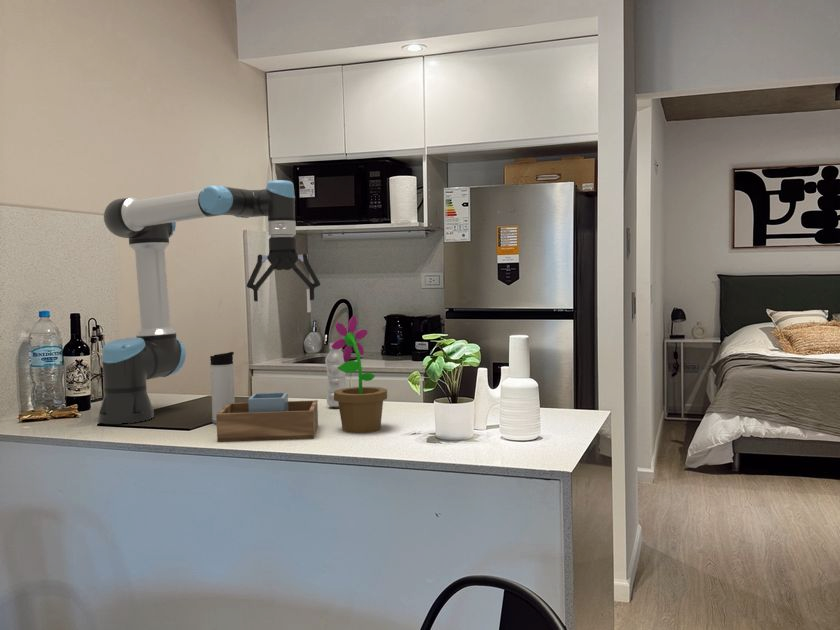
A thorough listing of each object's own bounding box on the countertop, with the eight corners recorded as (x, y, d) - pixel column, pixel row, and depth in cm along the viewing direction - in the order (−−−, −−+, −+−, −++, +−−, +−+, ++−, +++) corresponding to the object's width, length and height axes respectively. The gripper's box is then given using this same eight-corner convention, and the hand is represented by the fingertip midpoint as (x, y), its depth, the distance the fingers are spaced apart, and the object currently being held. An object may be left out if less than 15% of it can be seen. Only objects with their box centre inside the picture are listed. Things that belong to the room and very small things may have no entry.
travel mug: (230, 424, 215) (227, 353, 213) (208, 424, 216) (205, 353, 215) (240, 420, 221) (237, 350, 219) (218, 419, 222) (216, 350, 221)
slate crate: (255, 426, 206) (253, 393, 206) (288, 425, 207) (287, 392, 206) (249, 434, 197) (248, 399, 197) (284, 432, 198) (283, 398, 197)
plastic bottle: (347, 409, 235) (345, 343, 234) (325, 409, 235) (323, 344, 234) (349, 405, 241) (347, 341, 240) (328, 405, 241) (326, 342, 240)
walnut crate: (229, 428, 210) (228, 403, 209) (318, 425, 211) (317, 400, 210) (217, 441, 194) (216, 414, 193) (313, 438, 195) (312, 411, 195)
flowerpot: (364, 421, 216) (361, 314, 214) (399, 428, 206) (397, 315, 204) (323, 429, 206) (320, 317, 204) (358, 437, 196) (355, 319, 194)
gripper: (234, 237, 211) (237, 314, 212) (326, 235, 212) (328, 312, 213) (239, 238, 218) (242, 312, 219) (328, 236, 220) (330, 310, 221)
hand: (284, 312), depth 216 cm, fingers open, 13 cm apart
